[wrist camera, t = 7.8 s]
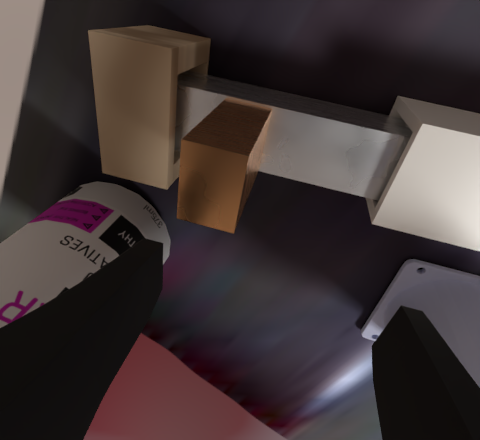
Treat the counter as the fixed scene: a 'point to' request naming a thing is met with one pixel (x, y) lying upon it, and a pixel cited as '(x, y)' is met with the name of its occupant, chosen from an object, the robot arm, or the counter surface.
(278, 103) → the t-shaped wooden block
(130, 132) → the oak socket
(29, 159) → the counter surface
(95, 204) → the supplement can
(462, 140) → the white rectangular block
